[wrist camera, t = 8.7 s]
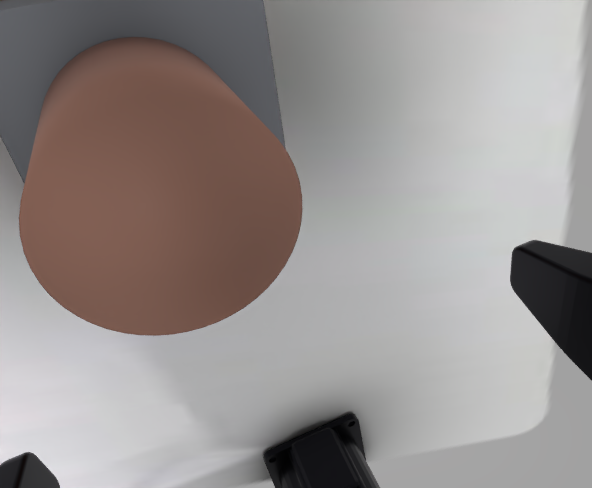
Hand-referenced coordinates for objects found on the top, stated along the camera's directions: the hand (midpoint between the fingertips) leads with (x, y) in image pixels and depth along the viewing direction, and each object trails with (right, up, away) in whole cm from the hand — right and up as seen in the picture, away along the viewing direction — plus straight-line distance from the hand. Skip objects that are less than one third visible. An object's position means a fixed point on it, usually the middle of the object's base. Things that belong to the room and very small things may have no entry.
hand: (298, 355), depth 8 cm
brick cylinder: (-4, +5, +4) cm, 8 cm away
